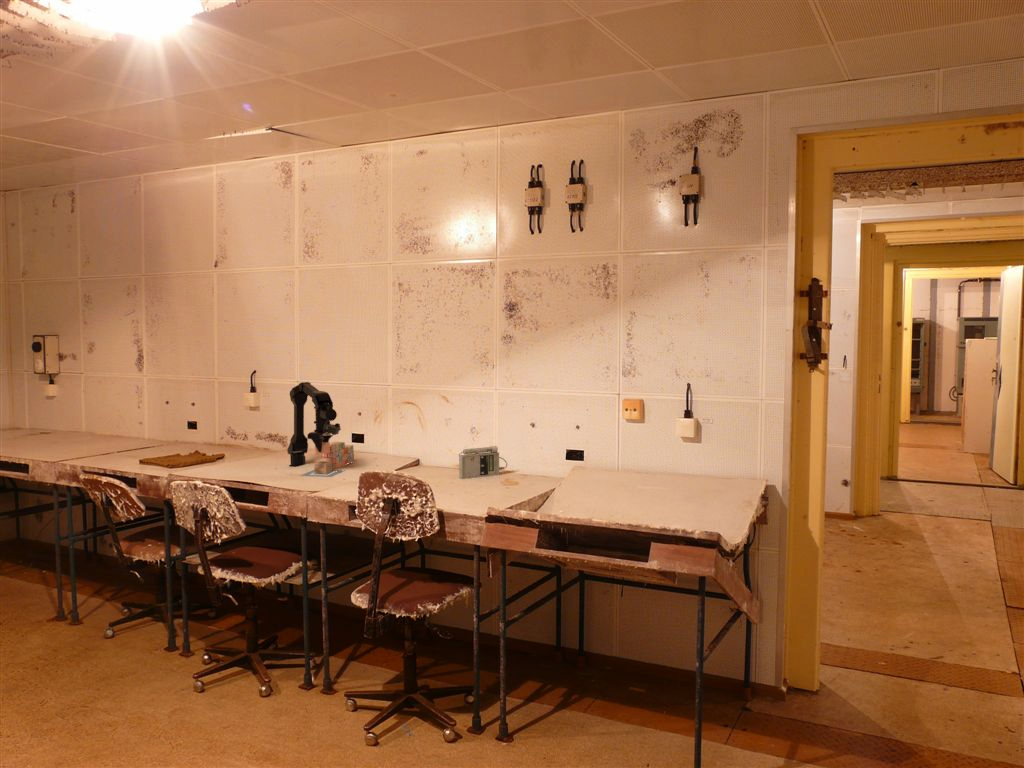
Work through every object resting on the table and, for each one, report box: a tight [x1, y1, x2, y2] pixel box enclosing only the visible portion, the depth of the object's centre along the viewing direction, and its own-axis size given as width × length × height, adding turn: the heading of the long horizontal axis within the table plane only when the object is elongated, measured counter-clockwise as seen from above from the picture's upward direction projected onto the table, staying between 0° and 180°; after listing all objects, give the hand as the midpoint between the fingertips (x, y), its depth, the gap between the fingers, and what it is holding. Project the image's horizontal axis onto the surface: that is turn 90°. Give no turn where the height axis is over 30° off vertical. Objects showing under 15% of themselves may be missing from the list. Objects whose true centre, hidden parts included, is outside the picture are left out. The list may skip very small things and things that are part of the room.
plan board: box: [299, 469, 347, 478], centre depth 379 cm, size 16×16×1 cm
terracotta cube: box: [314, 441, 331, 455], centre depth 378 cm, size 5×5×5 cm
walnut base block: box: [313, 460, 333, 474], centre depth 379 cm, size 6×6×5 cm
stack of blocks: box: [321, 441, 355, 470], centre depth 399 cm, size 21×6×12 cm, turn 163°
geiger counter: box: [458, 445, 508, 480], centre depth 373 cm, size 14×6×25 cm
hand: (322, 451), depth 378 cm, fingers closed on terracotta cube, 5 cm apart
